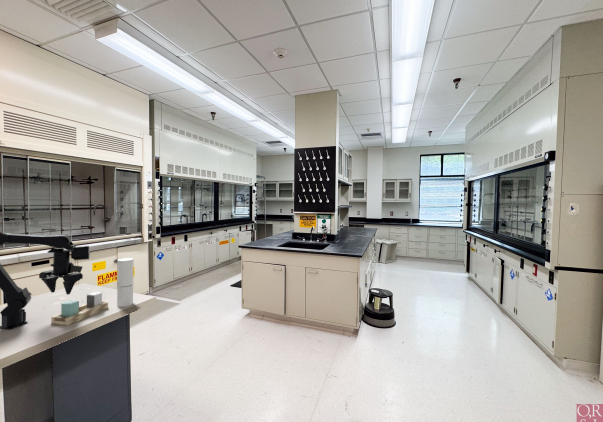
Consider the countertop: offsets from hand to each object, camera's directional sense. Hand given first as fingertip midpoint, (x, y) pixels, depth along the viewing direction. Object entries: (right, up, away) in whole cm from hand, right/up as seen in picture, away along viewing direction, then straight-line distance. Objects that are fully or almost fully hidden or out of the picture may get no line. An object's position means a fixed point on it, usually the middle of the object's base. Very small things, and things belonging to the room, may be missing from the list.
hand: (60, 293), depth 121 cm
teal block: (+6, -11, -2) cm, 12 cm away
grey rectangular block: (+8, -10, +10) cm, 16 cm away
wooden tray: (+7, -12, +3) cm, 14 cm away
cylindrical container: (+18, -12, +18) cm, 28 cm away
